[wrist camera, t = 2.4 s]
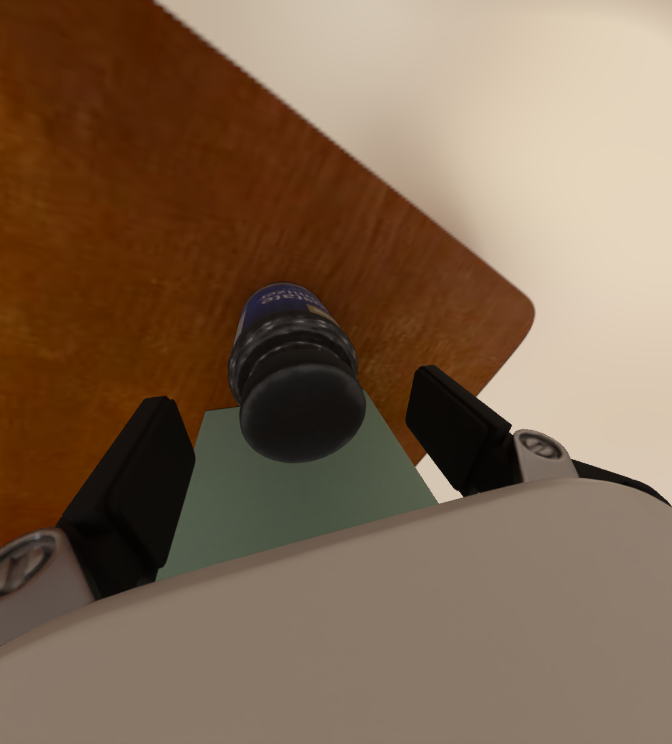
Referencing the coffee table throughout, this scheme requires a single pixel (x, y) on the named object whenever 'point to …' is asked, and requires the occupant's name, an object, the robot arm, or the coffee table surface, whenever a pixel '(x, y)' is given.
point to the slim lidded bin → (286, 492)
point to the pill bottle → (294, 376)
